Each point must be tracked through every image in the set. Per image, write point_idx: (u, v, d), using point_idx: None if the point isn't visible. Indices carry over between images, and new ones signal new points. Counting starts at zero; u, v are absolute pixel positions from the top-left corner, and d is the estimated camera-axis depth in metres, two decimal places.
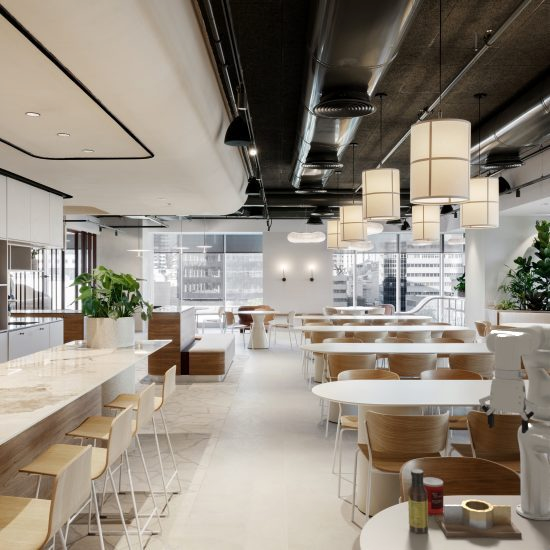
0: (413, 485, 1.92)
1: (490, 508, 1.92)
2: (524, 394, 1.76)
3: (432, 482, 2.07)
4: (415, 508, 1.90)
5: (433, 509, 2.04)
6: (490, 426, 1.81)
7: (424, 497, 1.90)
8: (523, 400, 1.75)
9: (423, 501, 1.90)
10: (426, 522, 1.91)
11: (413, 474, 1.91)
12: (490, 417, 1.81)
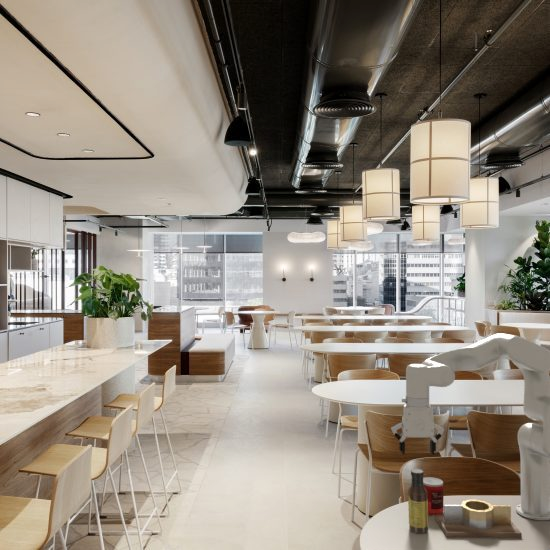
0: (413, 485, 1.92)
1: (490, 508, 1.92)
2: (402, 418, 1.93)
3: (432, 482, 2.07)
4: (415, 508, 1.90)
5: (433, 509, 2.04)
6: None
7: (424, 497, 1.90)
8: (401, 422, 1.94)
9: (423, 501, 1.90)
10: (426, 522, 1.91)
11: (413, 474, 1.91)
12: None
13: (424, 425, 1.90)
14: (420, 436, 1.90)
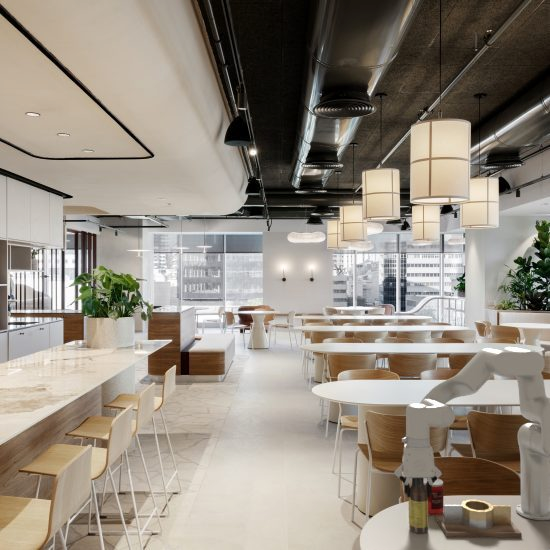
0: (413, 485, 1.92)
1: (490, 508, 1.92)
2: (402, 458, 1.93)
3: None
4: (415, 508, 1.90)
5: (433, 509, 2.04)
6: None
7: (424, 497, 1.90)
8: (402, 461, 1.94)
9: (423, 501, 1.90)
10: (426, 522, 1.91)
11: None
12: None
13: (424, 465, 1.90)
14: (420, 476, 1.90)
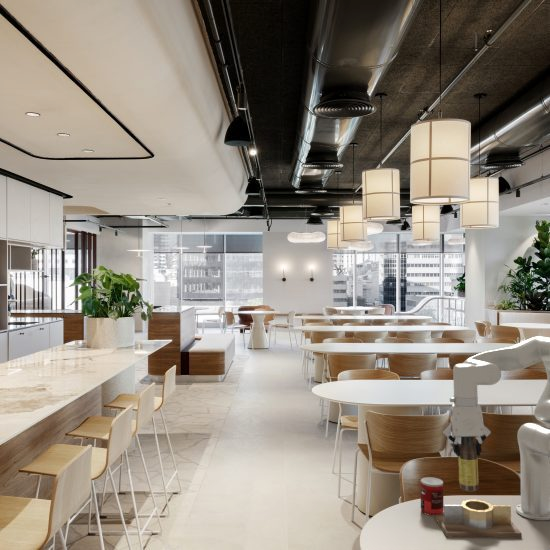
0: (463, 444, 1.93)
1: (490, 508, 1.92)
2: (451, 417, 1.94)
3: (432, 482, 2.07)
4: (465, 467, 1.92)
5: (433, 509, 2.04)
6: None
7: (474, 455, 1.91)
8: (450, 421, 1.95)
9: (473, 459, 1.91)
10: (477, 480, 1.92)
11: None
12: None
13: (474, 424, 1.91)
14: (470, 435, 1.91)
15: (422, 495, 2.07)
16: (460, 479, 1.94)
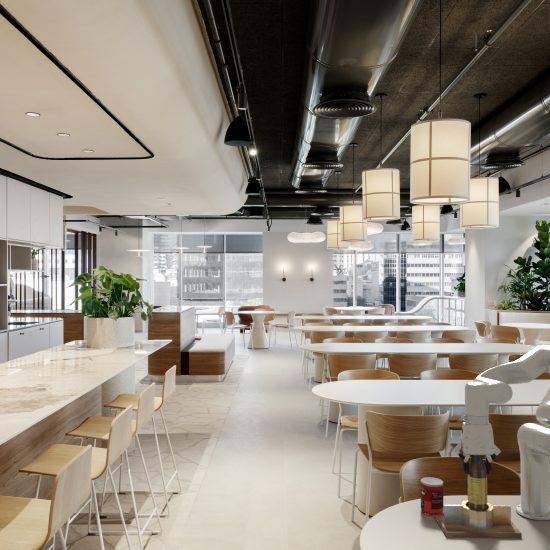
0: (473, 462, 1.93)
1: (490, 508, 1.92)
2: (461, 435, 1.94)
3: (432, 482, 2.07)
4: (475, 485, 1.92)
5: (433, 509, 2.04)
6: None
7: (484, 474, 1.92)
8: None
9: (483, 478, 1.91)
10: (486, 499, 1.92)
11: None
12: None
13: (484, 443, 1.91)
14: (480, 454, 1.91)
15: (422, 495, 2.07)
16: (469, 497, 1.93)
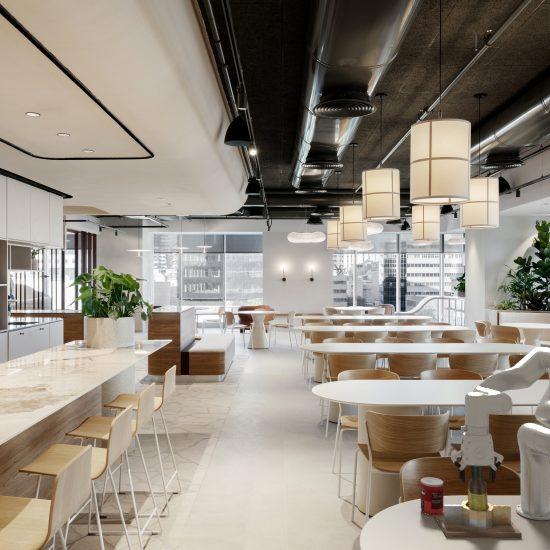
0: (473, 478, 1.93)
1: (490, 508, 1.92)
2: (461, 446, 1.94)
3: (432, 482, 2.07)
4: (475, 501, 1.92)
5: (433, 509, 2.04)
6: None
7: (484, 490, 1.92)
8: (461, 450, 1.96)
9: (483, 494, 1.92)
10: None
11: (473, 467, 1.93)
12: None
13: (484, 453, 1.91)
14: (480, 464, 1.91)
15: (422, 495, 2.07)
16: None
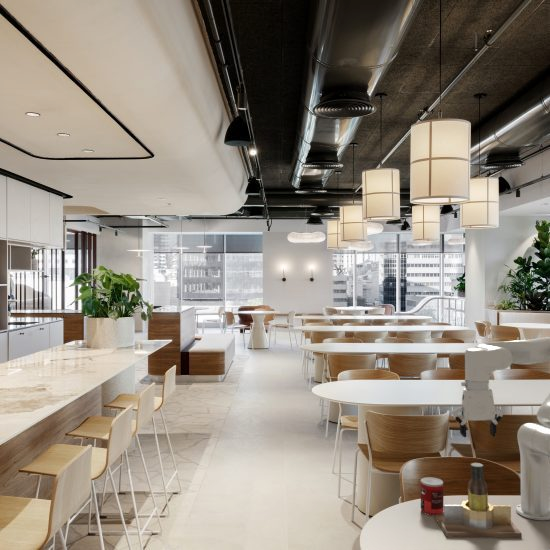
0: (473, 479, 1.93)
1: (490, 508, 1.92)
2: (462, 401, 1.96)
3: (432, 482, 2.07)
4: (475, 502, 1.92)
5: (433, 509, 2.04)
6: None
7: (484, 490, 1.92)
8: None
9: (484, 494, 1.91)
10: None
11: (473, 468, 1.93)
12: None
13: (485, 408, 1.93)
14: (481, 419, 1.93)
15: (422, 495, 2.07)
16: None
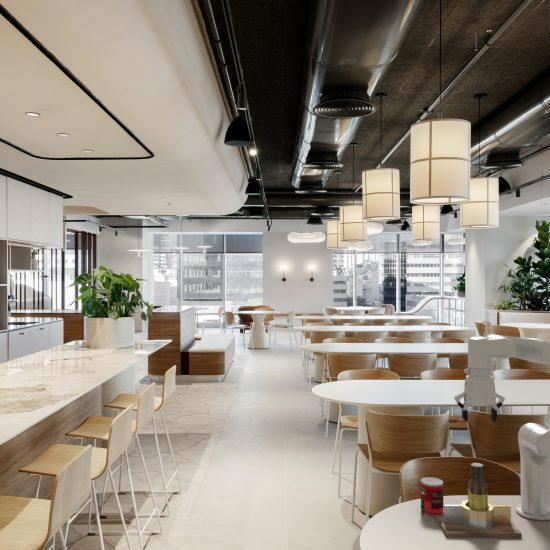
0: (473, 479, 1.93)
1: (490, 508, 1.92)
2: (465, 388, 2.04)
3: (432, 482, 2.07)
4: (475, 502, 1.92)
5: (433, 509, 2.04)
6: None
7: (485, 490, 1.92)
8: (464, 391, 2.05)
9: (484, 494, 1.91)
10: None
11: (473, 468, 1.93)
12: None
13: (486, 394, 2.01)
14: (483, 404, 2.01)
15: (422, 495, 2.07)
16: None
